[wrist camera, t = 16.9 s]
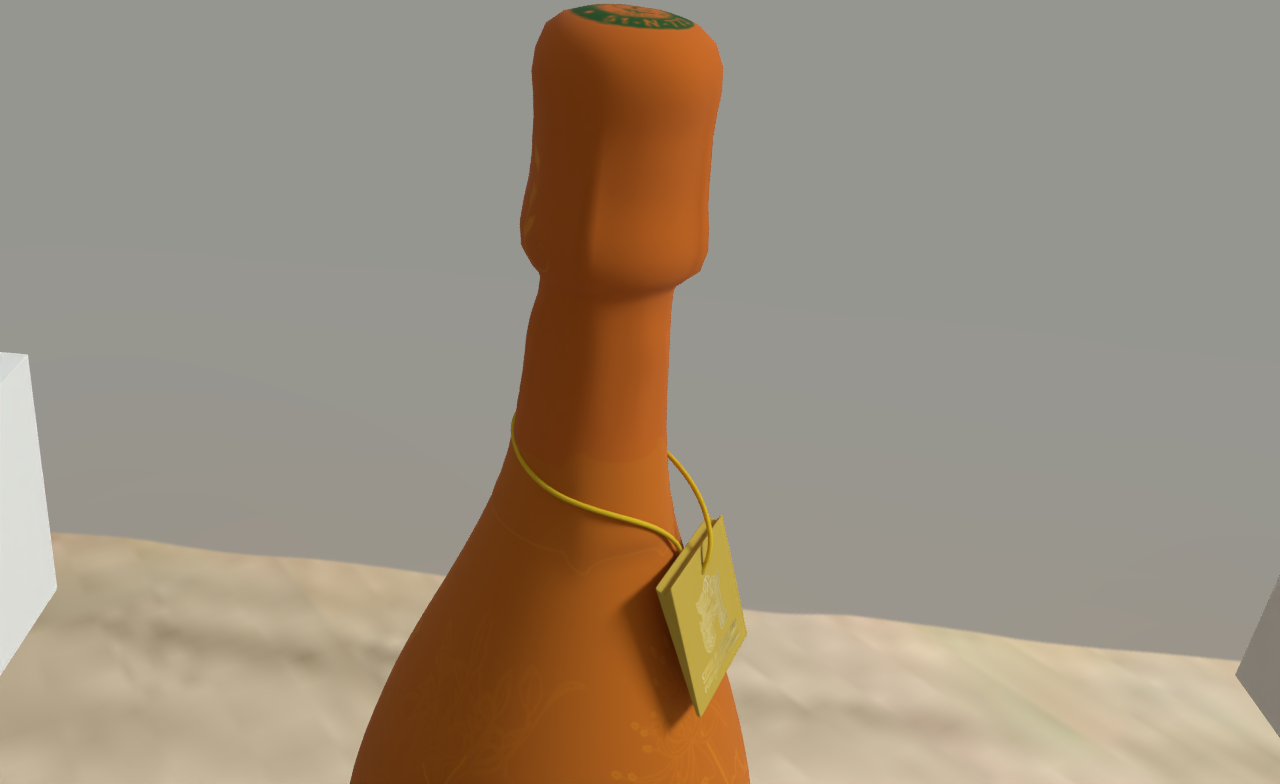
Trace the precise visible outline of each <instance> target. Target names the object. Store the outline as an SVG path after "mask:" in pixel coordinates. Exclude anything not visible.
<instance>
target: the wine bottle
mask: <svg viewBox="0 0 1280 784" xmlns="http://www.w3.org/2000/svg"><path fill="white" fill-rule="evenodd" d="M722 80H723V65H722V62H721V59H720V55H719V52H718V48H717V45H716V43H715V42H714V40H713V39H712V38H711V37H710V36H709V35H708V34H707V33H706V32H705V31H704V30H703V29H702V28H701V27H700V26H698V24H696V23H694V22H692V21H690V20H688V19H685V18H683V17H680V16H677V15H674V14H672V13H669V12H665V11H662V10H657V9H652V8H645V7H639V6H631V5H622V4H595V5H588V6H583V7H578V8H573V9H568V10H564V11H562V12H561V13H559V14H558V15H557V16H555V17H553V18H552V19H551V20H549V21H548V22H546V24H545V26H544V28H543V30H542V33H541V35H540V37H539V39H538V42H537V44H536V46H535V52H534V58H533V65H532V85H533V107H534V109H533V110H534V119H533V135H532V156H531V164H530V173H529V178H528V183H527V187H526V191H525V195H524V200H523V206H522V212H521V217H520V233H521V245H522V247H523V249H524V251H525V253H526V255H527V256H528V258H529V260H530V262H531V263H532V265H533V266H534V267H535V268H536V270H537V271H538V272H539V274H540V283H539V290H538V294H537V297H536V300H535V303H534V306H533V309H532V312H531V316H530V319H529V325H528V330H527V335H526V345H525V355H524V363H523V372H522V378H521V384H520V392H519V396H518V401H517V409H516V412H515V414H514V416H513V419H512V424H511V439H510V444H509V448H508V451H507V455H506V458H505V461H504V464H503V467H502V470H501V473H500V475H499V477H498V479H497V482H496V484H495V487H494V490H493V492H492V495H491V497H490V499H489V501H488V503H487V505H486V507H485V509H484V511H483V513H482V515H481V517H480V519H479V521H478V523H477V525H476V526H475V528H474V530H473V532H472V533H471V535H470V537H469V539H468V541H467V542H466V544H465V546H464V548H463V549H462V551H461V553H460V554H459V556H458V558H457V560H456V561H455V563H454V565H453V566H452V568H451V569H450V571H449V573H448V574H447V576H446V578H445V579H444V581H443V583H442V584H441V586H440V587H439V589H438V591H437V592H436V594H435V595H434V597H433V599H432V600H431V602H430V603H429V605H428V607H427V608H426V610H425V612H424V613H423V615H422V617H421V618H420V620H419V622H418V623H417V625H416V627H415V628H414V630H413V632H412V634H411V635H410V637H409V639H408V641H407V642H406V644H405V646H404V648H403V650H402V652H401V654H400V655H399V657H398V659H397V661H396V663H395V665H394V667H393V669H392V671H391V673H390V676H389V678H388V680H387V682H386V684H385V686H384V689H383V691H382V693H381V696H380V698H379V700H378V702H377V705H376V707H375V709H374V712H373V714H372V717H371V719H370V722H369V724H368V727H367V729H366V732H365V734H364V737H363V740H362V743H361V746H360V749H359V752H358V755H357V758H356V762H355V765H354V769H353V773H352V777H351V781H350V784H750V779H749V771H748V764H747V758H746V752H745V747H744V742H743V737H742V732H741V727H740V723H739V718H738V714H737V710H736V706H735V702H734V698H733V694H732V690H731V687H730V683H729V680H728V676H727V673H726V671H727V670H728V668H729V666H730V664H731V662H732V661H733V659H734V657H735V655H736V653H737V651H738V650H739V648H740V646H741V644H742V642H743V641H744V639H745V637H746V635H747V631H746V626H745V621H744V617H743V612H742V607H741V602H740V597H739V593H738V588H737V583H736V578H735V573H734V569H733V564H732V559H731V554H730V550H729V545H728V540H727V536H726V530H725V526H724V521H723V516H722V515H721V516H720V517H719V518H718V519H717V520H714V519H713V518H711V517H710V516H709V515H708V511H707V508H706V506H705V503H704V501H703V498H702V496H701V494H700V492H699V491H698V488H697V487H696V485H695V483H694V482H693V480H692V479H691V477H690V476H689V475H688V473H687V472H686V470H685V469H684V468H683V467H682V466H681V464H680V463H679V462H678V461H677V460H676V458H675V457H674V456H673V455H672V454H671V453H670V452H669V451H668V450H667V432H666V419H667V417H666V416H667V387H668V368H669V346H670V326H671V309H672V299H673V292H674V289H675V287H676V286H677V285H679V284H681V283H682V282H684V281H685V280H687V279H688V278H690V277H691V276H693V275H695V274H697V273H698V272H699V271H700V270H701V267H702V265H703V262H704V260H705V257H706V255H707V252H708V238H709V236H708V235H709V221H708V219H709V217H708V200H709V182H710V171H711V158H712V145H713V135H714V129H715V123H716V117H717V112H718V107H719V102H720V97H721V93H722ZM667 457H668V458H669V459H670V460H671V461H672V462H673V463H674V465H675V466H676V467H677V468H678V469H679V470H680V472H681V473H682V475H683V476H684V477H685V479H686V480H687V482H688V483H689V484H690V486H691V488H692V490H693V492H694V493H695V495H696V497H697V499H698V502H699V504H700V506H701V509H702V512H703V515H704V519H705V520H704V521H703V522H702V524H701V525H700V527H699V528H698V529H697V531H696V532H695V534H694V535H693V536H692V538H691V539H690V541H689V542H688V543H687V545H686V546H685V548H684V547H683V544H682V540H681V537H680V533H679V530H678V526H677V522H676V518H675V514H674V508H673V502H672V497H671V492H670V483H669V472H668V459H667Z"/></svg>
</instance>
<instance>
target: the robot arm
mask: <svg viewBox="0 0 1280 784" xmlns="http://www.w3.org/2000/svg"><path fill="white" fill-rule="evenodd" d="M56 589H57V584H56V576H55V568H54V560H53V552H52V544H51V536H50V529H49V520H48V513H47V505H46V497H45V489H44V481H43V473H42V465H41V457H40V449H39V441H38V433H37V425H36V417H35V409H34V402H33V393H32V386H31V378H30V370H29V362H28V355H27V354H15V353H4V352H0V675H1V674H2V672H3V671H4V669H5V667H6V666H7V664H8V663H9V661H10V660H11V658H12V657H13V655H14V654H15V652H16V651H17V649H18V648H19V646H20V645H21V643H22V641H23V640H24V638H25V637H26V635H27V634H28V632H29V631H30V629H31V628H32V626H33V625H34V623H35V622H36V620H37V618H38V617H39V615H40V614H41V612H42V611H43V609H44V608H45V606H46V605H47V603H48V602H49V600H50V599H51V597H52V596H53V594H54V592H55V591H56ZM1235 675H1236V677H1237V678H1238V680H1239V681H1240V682H1241V684H1242V685H1243V687H1244V688H1245V689H1246V691H1247V692H1248V694H1249V695H1250V696H1251V698H1252V699H1253V701H1254V702H1255V703H1256V705H1257V706H1258V708H1259V709H1260V710H1261V712H1262V713H1263V715H1264V716H1265V718H1266V719H1267V720H1268V722H1269V723H1270V725H1271V726H1272V727H1273V729H1274V730H1275V732H1276V733H1277V734H1278V736H1279V737H1280V576H1279V578H1278V580H1277V583H1276V585H1275V587H1274V589H1273V591H1272V594H1271V596H1270V598H1269V600H1268V603H1267V605H1266V607H1265V609H1264V612H1263V614H1262V616H1261V618H1260V621H1259V623H1258V625H1257V627H1256V630H1255V632H1254V634H1253V636H1252V638H1251V641H1250V643H1249V645H1248V647H1247V650H1246V652H1245V654H1244V657H1243V659H1242V661H1241V663H1240V665H1239V667H1238V670H1237V672H1236V674H1235Z"/></svg>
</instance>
